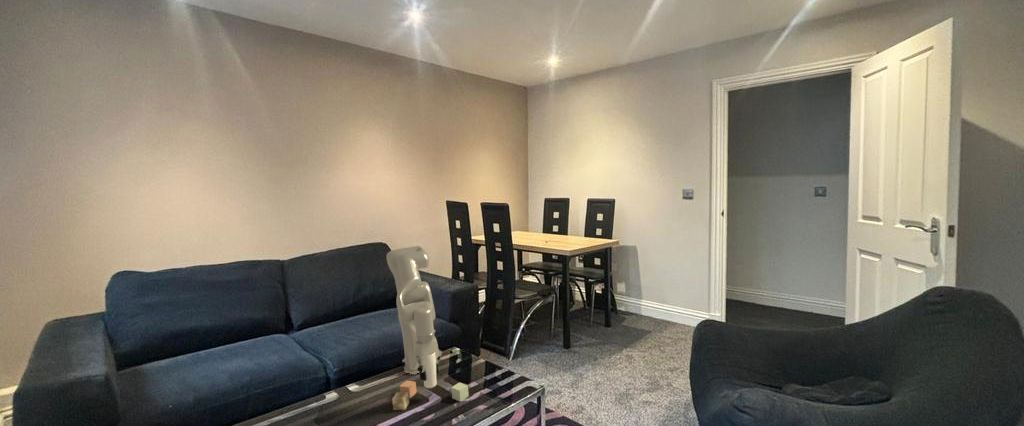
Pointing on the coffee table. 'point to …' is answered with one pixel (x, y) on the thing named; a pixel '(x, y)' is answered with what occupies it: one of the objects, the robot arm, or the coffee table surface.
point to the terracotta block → (408, 388)
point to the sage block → (459, 391)
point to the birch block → (400, 401)
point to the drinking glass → (430, 371)
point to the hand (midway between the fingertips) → (429, 375)
